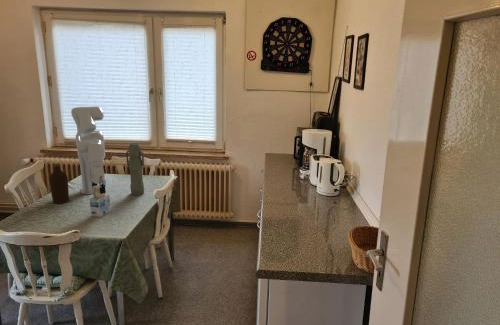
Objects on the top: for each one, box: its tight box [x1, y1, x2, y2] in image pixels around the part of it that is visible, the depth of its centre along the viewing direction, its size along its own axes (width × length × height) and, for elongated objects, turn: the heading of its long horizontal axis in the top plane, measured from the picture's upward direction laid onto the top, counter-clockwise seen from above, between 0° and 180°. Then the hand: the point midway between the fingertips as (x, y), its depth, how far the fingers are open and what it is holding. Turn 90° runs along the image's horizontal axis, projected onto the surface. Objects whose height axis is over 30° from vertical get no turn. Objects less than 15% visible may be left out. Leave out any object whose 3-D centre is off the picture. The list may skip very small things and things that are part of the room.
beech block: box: [92, 184, 106, 198], centre depth 219 cm, size 5×5×6 cm
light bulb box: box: [89, 193, 112, 218], centre depth 221 cm, size 11×7×11 cm, turn 168°
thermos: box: [125, 142, 145, 196], centre depth 252 cm, size 9×12×35 cm
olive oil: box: [48, 163, 70, 205], centre depth 237 cm, size 11×11×25 cm
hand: (99, 191), depth 219 cm, fingers open, 9 cm apart
